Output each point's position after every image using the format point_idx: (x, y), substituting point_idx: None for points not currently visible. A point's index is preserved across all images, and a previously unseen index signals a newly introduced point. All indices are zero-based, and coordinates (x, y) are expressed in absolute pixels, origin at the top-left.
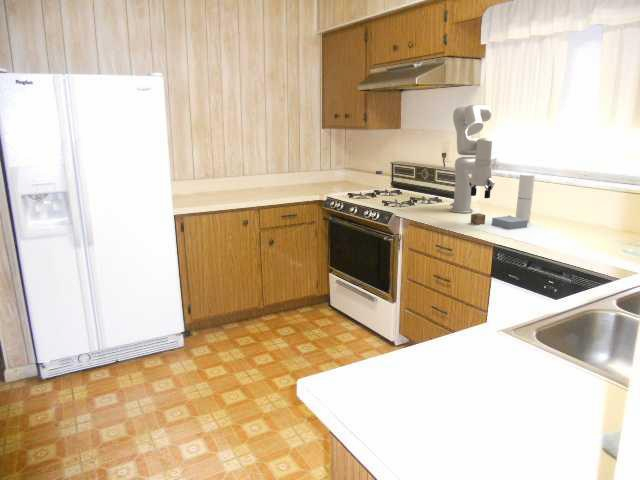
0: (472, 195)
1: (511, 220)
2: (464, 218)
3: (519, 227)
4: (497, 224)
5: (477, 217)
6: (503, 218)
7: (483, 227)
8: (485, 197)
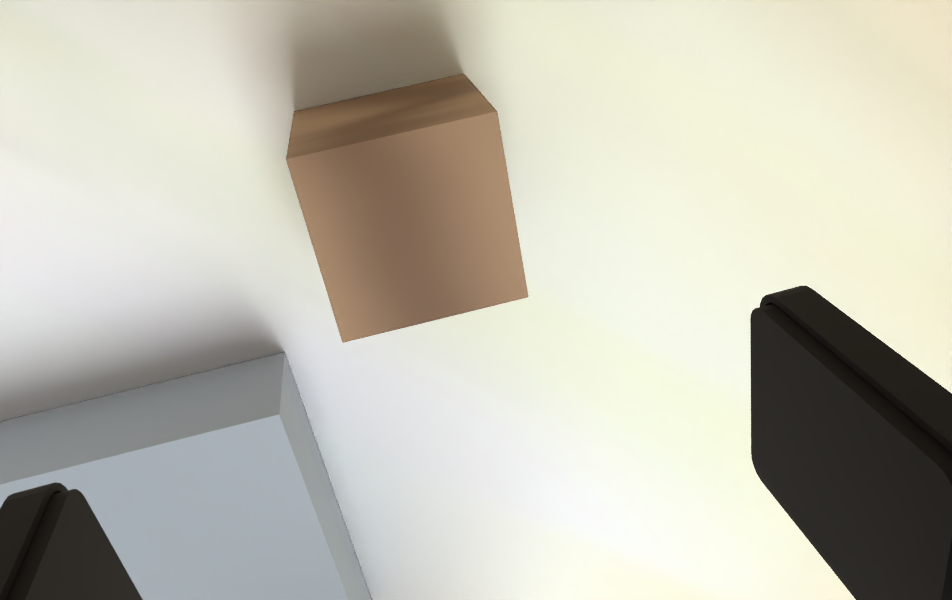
0: (756, 335)
1: None
2: (809, 175)
3: None
4: (166, 394)
5: (301, 143)
6: (199, 545)
7: (73, 108)
8: (7, 517)
